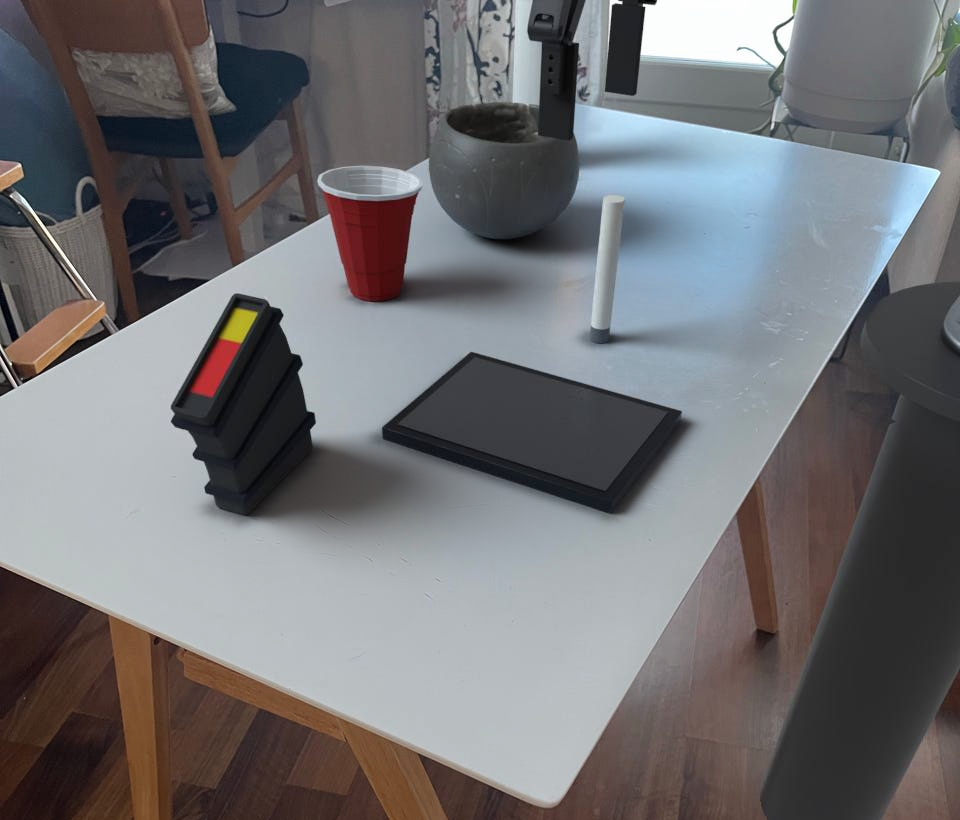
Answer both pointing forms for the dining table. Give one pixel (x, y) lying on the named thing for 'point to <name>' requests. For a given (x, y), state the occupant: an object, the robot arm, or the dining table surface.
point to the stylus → (606, 267)
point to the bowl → (501, 169)
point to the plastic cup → (371, 225)
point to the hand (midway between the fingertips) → (589, 114)
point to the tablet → (536, 429)
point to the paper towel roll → (525, 59)
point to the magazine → (245, 405)
